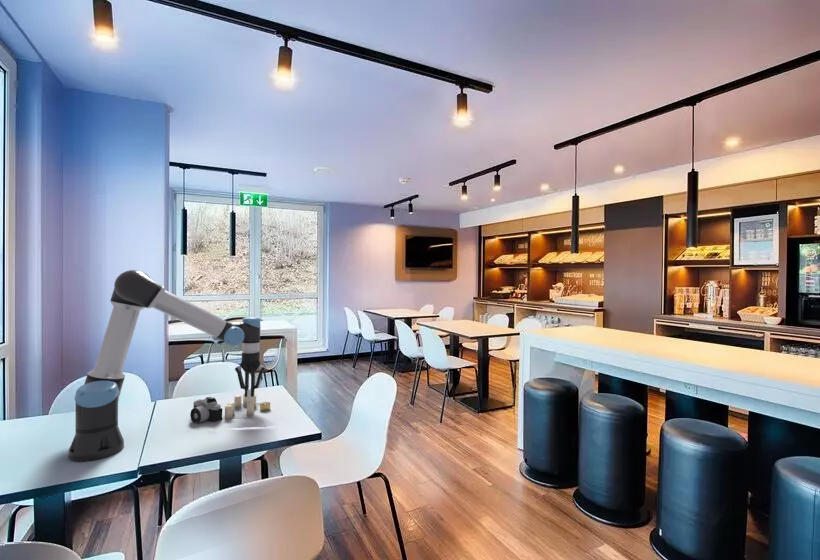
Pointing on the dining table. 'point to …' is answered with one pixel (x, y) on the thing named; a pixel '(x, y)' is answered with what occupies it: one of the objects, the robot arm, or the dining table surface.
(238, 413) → the board
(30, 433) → the dining table surface
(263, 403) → the nut
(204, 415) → the camera
